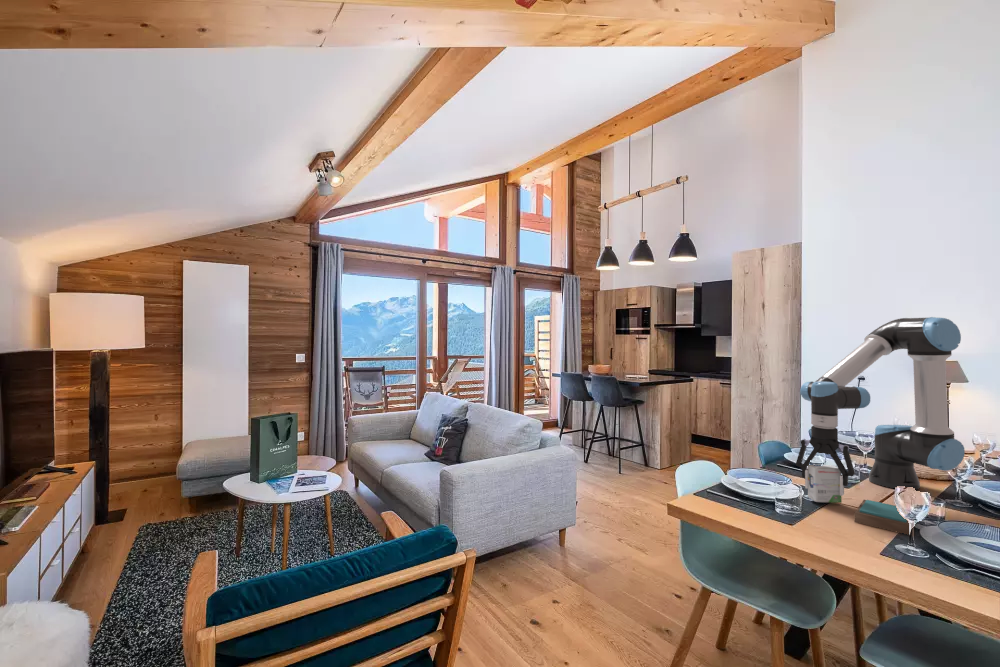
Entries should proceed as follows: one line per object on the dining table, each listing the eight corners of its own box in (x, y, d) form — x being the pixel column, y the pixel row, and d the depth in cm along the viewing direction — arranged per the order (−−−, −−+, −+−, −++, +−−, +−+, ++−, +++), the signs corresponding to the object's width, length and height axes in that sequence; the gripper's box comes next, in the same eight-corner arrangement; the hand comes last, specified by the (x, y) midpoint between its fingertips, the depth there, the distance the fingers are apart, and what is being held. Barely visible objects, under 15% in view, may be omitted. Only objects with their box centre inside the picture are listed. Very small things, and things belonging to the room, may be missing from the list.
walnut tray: (863, 508, 155) (863, 497, 155) (915, 520, 146) (915, 508, 146) (854, 521, 144) (854, 510, 144) (909, 535, 135) (910, 523, 135)
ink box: (815, 502, 158) (815, 468, 158) (807, 496, 163) (807, 463, 163) (842, 503, 157) (842, 468, 157) (833, 497, 162) (833, 464, 162)
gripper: (785, 423, 165) (785, 485, 165) (862, 433, 149) (862, 502, 149) (791, 420, 170) (791, 481, 170) (866, 429, 154) (866, 496, 154)
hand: (824, 491), depth 160 cm, fingers closed on ink box, 9 cm apart
